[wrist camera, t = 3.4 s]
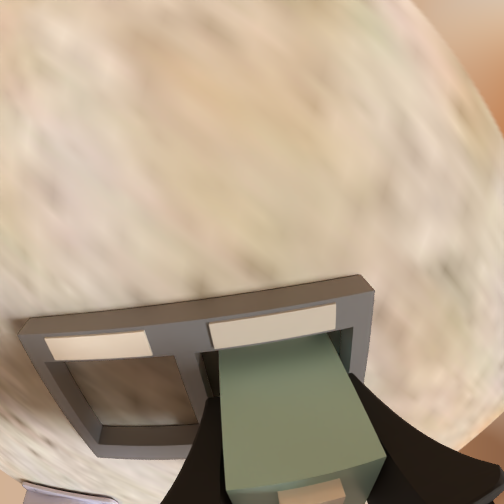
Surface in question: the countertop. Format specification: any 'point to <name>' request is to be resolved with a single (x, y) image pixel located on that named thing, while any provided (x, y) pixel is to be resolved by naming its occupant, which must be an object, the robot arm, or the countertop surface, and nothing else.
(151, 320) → the dock
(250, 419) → the plug
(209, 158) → the countertop surface
